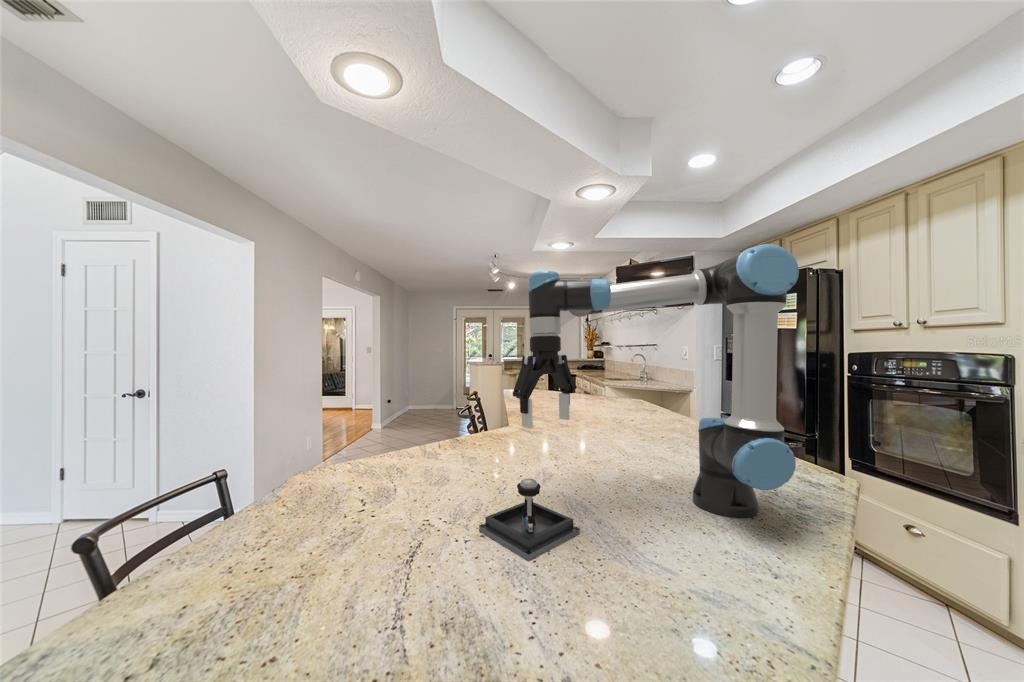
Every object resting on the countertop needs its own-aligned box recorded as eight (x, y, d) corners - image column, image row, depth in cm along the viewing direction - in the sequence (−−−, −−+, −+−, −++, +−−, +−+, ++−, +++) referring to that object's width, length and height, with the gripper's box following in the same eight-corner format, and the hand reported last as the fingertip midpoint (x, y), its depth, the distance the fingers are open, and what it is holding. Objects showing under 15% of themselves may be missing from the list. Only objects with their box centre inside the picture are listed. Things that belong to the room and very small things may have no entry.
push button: (542, 534, 80) (542, 487, 80) (518, 534, 80) (518, 487, 80) (539, 520, 87) (539, 477, 87) (516, 520, 86) (516, 477, 87)
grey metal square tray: (579, 533, 83) (579, 519, 83) (528, 561, 72) (528, 544, 72) (529, 510, 95) (529, 498, 95) (479, 531, 84) (479, 516, 84)
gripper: (564, 337, 102) (566, 414, 101) (496, 335, 84) (497, 428, 84) (587, 335, 96) (589, 417, 95) (519, 333, 79) (521, 433, 78)
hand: (546, 423), depth 90 cm, fingers open, 13 cm apart
